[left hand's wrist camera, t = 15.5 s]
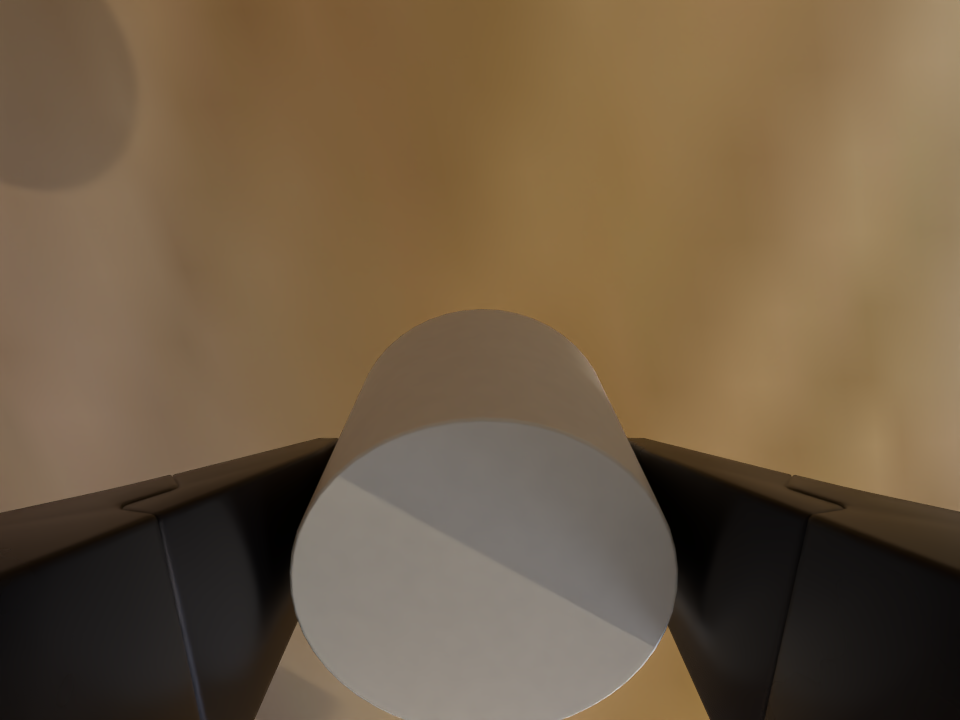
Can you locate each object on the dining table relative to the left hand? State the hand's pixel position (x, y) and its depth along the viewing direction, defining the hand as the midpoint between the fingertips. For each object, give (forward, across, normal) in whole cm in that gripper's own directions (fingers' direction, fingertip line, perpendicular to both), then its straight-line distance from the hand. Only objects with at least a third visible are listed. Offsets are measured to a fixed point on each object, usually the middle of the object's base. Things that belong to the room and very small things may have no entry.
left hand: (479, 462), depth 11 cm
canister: (+1, 0, 0) cm, 1 cm away
